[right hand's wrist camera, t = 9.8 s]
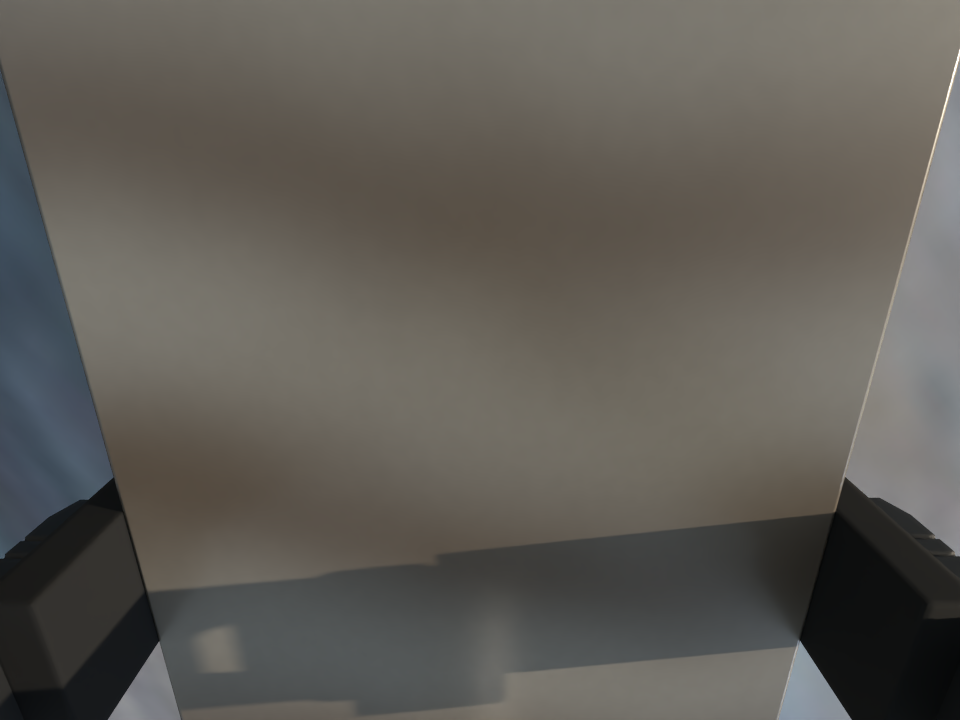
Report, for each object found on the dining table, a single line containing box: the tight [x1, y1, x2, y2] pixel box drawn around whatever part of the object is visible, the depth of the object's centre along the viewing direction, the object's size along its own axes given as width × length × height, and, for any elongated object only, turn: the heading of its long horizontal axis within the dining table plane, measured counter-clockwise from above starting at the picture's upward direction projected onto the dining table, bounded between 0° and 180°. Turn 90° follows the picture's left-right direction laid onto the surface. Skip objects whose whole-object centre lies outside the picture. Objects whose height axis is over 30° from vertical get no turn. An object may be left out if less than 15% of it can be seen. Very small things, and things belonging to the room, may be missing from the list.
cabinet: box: [0, 0, 960, 720], centre depth 11 cm, size 21×11×8 cm, turn 0°
